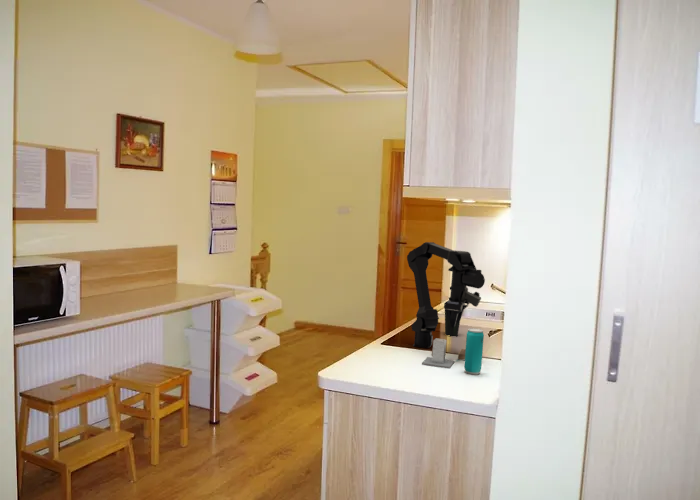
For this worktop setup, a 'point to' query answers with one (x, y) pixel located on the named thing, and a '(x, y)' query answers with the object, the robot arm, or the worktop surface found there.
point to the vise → (460, 354)
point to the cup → (448, 329)
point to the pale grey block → (439, 350)
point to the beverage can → (474, 351)
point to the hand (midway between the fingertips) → (455, 325)
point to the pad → (445, 365)
